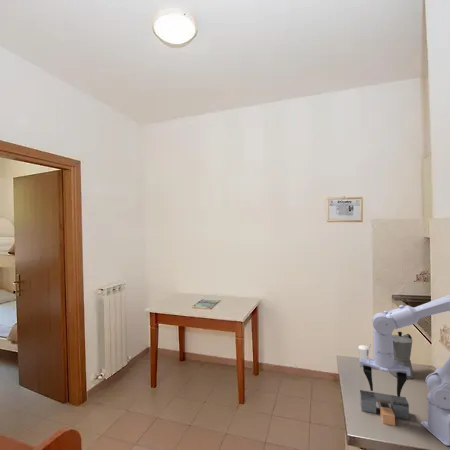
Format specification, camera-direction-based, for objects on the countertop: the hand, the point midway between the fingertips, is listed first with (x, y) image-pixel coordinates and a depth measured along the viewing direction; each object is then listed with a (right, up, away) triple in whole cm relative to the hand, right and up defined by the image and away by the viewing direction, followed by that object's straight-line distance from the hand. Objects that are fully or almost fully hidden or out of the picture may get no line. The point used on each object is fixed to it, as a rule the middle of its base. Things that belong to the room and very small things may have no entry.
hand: (384, 392), depth 92 cm
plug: (+1, -9, +2) cm, 9 cm away
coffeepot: (+24, -9, +28) cm, 38 cm away
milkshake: (+11, -9, +35) cm, 38 cm away
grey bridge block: (+1, -8, +3) cm, 9 cm away
